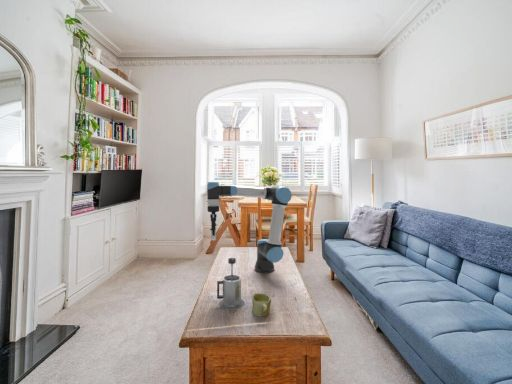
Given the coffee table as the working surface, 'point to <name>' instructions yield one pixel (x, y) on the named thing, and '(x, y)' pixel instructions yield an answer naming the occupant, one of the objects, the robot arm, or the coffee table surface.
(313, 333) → the coffee table surface
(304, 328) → the coffee table surface
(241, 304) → the coaster
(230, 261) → the plunger
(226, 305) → the grey french press
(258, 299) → the mug
